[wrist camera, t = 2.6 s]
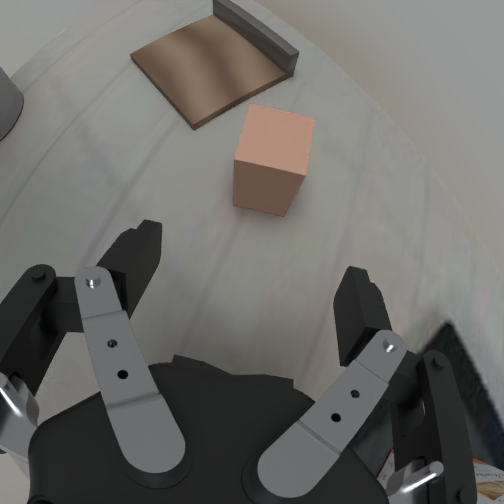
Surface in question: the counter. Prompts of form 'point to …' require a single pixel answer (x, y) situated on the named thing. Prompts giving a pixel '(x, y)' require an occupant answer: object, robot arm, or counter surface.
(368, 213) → the counter surface
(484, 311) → the counter surface
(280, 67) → the shelf board
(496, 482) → the cracker box
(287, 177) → the carton
